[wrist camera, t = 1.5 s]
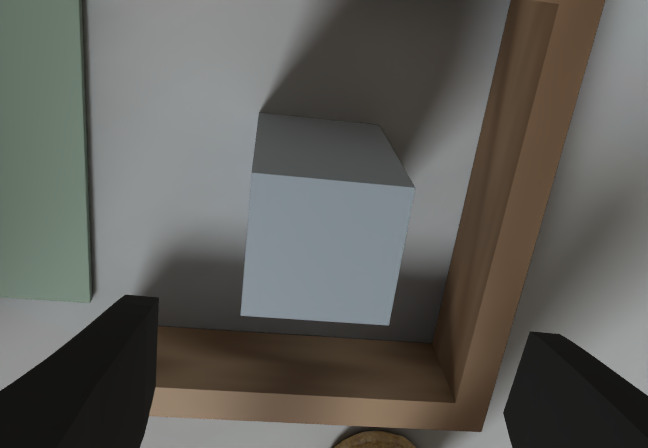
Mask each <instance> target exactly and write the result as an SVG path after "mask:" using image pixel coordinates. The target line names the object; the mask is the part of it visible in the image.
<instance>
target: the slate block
mask: <svg viewBox="0 0 648 448" xmlns="http://www.w3.org/2000/svg"><path fill="white" fill-rule="evenodd" d="M414 193H415V186H414V184H413V183H412V181H411V179H410V178H409V176H408V174H407V172H406V171H405V169H404V167H403V166H402V164H401V162H400V160H399V159H398V157H397V155H396V154H395V152H394V150H393V148H392V147H391V145H390V143H389V142H388V140H387V138H386V136H385V135H384V133H383V131H382V130H381V128H380V126H379V125H375V124H365V123H355V122H346V121H336V120H327V119H317V118H307V117H298V116H288V115H278V114H269V113H259V117H258V126H257V134H256V142H255V150H254V158H253V166H252V176H251V188H250V201H249V214H248V227H247V239H246V252H245V265H244V278H243V290H242V303H241V316H253V317H268V318H283V319H298V320H313V321H328V322H344V323H359V324H374V325H389V322H390V317H391V312H392V306H393V301H394V296H395V291H396V286H397V281H398V275H399V270H400V265H401V260H402V255H403V250H404V245H405V239H406V234H407V229H408V224H409V219H410V214H411V208H412V203H413V198H414Z"/></svg>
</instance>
